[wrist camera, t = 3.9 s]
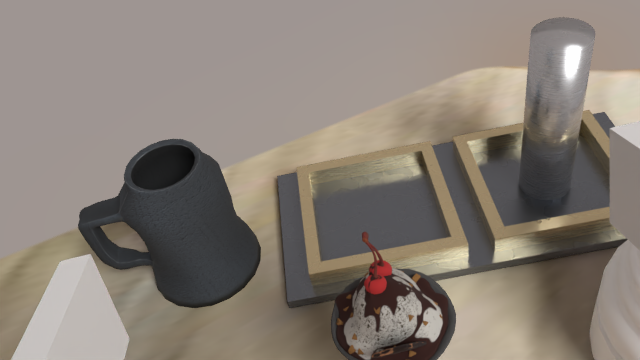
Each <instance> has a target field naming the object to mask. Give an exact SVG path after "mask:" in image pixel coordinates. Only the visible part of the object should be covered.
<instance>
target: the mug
mask: <svg viewBox="0 0 640 360" xmlns="http://www.w3.org/2000/svg"><path fill="white" fill-rule="evenodd" d="M124 180H125V183H124V185H123V187H122V189H121V191H120V193H119V195H118V196H117V197H115V198H112V199H108V200H105V201H101V202H98V203H95V204H93V205H91V206H88V207H86V208H84V209H83V210H81V212H80V215H79V218H80V220H79V224H78V228H79V230H80V232H81V234H82V235H83V237H84V238H85V240H86V241H87V243H88V244H89V245H90V247H91V248H92V250H93V251H94V252H95V253H96V255H97V256H98V257H99V258H100V260H101V261H103V262H104V263H105V264H107V265H109V266H111V267H113V268H116V269H120V270H122V269H129V268H133V267H137V266H142V265H151V266H152V267H153V270H154V274H155V279H156V283H157V288H158V290H159V291H160V292H161V294H162V295H163V296H164V297H165V299H167V300H169V301H170V302H172V303H174V304H176V305H178V306H184V307H191V308H198V307H205V306H212V305H215V304H217V303H219V302H222V301H224V300H227V299H229V298H231V297H232V296H233V295H235V294H236V293H237V292H239V291H240V290H242V289H243V288H244V287H245V286H246V285H247V283H248V282H249V281H250V280H251V278H252V277H253V276H254V275H255V273H256V270H257V268H258V265H259V263H260V254H261V247H260V245H259V242H258V240H257V237H256V235H255V234H254V233H253V232H252V230H251V229H250V228H249V226H248V225H247V224H246V223H245V222H244V221H243V220H242V219H241V218H240V217H239V216H237V215H236V212H235V210H234V207H233V203H232V198H231V195H230V192H229V190H228V187H227V185H226V182H225V179H224V177H223V174H222V172H221V169H220V167H219V164H218V163H217V162H216V161H215V160H214V159H213V158H212V157H210V156H209V155H207V154H205V153H202V152H201V150H200V149H199V148H197V147H196V146H195V145H194V144H193V143H191V142H189V141H186V140H183V139H170V140H163V141H159V142H157V143H154V144H151V145H149V146H147V147H146V148H144V149H143V150H141V151H139V152H138V153H137V154H136V155H135V156H134V157H133V158H132V159H131V160H130V162H129V163H128V165H127V166H126V170H125V174H124ZM121 221H123V222H125V223H126V224H128V225H129V226H130V227H131V228H132V229H134V230H135V231H136V232H137V233H138V234H139V235H140V237H141V238H142V239H143V241H144V242H145V244H146V246H147V248H148V251H149V252H139V251H137V250H133V249H128V248H121V247H118V246H117V245H116V244H114V243H113V242H111V241H110V240H109V239H108V238H107V236H106V235H105V233H104V232H103V230H102V229H101V227H100V226H103V225H107V224H111V223H115V222H121Z"/></svg>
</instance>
